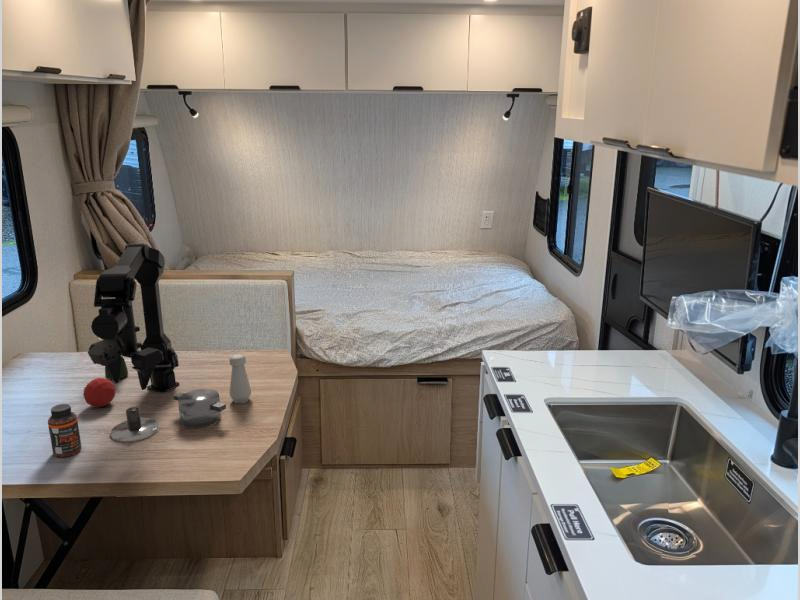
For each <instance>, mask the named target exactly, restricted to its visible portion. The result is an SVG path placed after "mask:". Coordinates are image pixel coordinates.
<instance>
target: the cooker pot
mask: <svg viewBox="0 0 800 600" xmlns="http://www.w3.org/2000/svg"><path fill="white" fill-rule="evenodd" d="M172 398H173V400H174V401H177V404H178V412H179V420H180V424H181V425H182V427H184V428H189V429H201V427H202V428H206V426H207V427H210V426H213V425H215V424H216V423H218V422H219V421H220V420H221V419H220V418H222V412H223V411H224V410H227V404H226V403H223V402H221V401H220V400H221V399H220V394H219V392H218V391H217V390H214V389H209V388H202V389H193V390H190V391H188V392H185V393H184V392H181V391H179V392H177V393H175V394H173V395H172ZM217 421H218V422H217ZM214 423H215V424H214ZM212 424H213V425H212ZM209 425H210V426H209Z"/></svg>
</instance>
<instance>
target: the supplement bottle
mask: <svg viewBox="0 0 800 600" xmlns="http://www.w3.org/2000/svg"><path fill="white" fill-rule="evenodd" d="M71 407H72V406H71V405H70V404H69V403H60V404H57V405H54V406H52V407H51V408H50V414H51V416H50V417H48V419H47V426H48V432H49V433H48V434H49V438H50V443H51V449H52V454H53V455H54V456H56V457H58V458H68V457H71V456H73V454H74V455H76V454H77V453H79V452H80V451H81V449H82V441H81V435H80V428H79V422H78V416H77V414H76V413H75V412H73V411H72V408H71Z"/></svg>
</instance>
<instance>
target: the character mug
mask: <svg viewBox="0 0 800 600" xmlns="http://www.w3.org/2000/svg"><path fill="white" fill-rule="evenodd" d="M97 338H98V339H97V340H98V342H99V341H102V340H104V339H101V338H99V337H97ZM104 374H105V375H104V377H105V379H108V380H113V379H112V377H111V376H110V374H109V372H108V370H107V368H106V367H105V366H104ZM128 375H129V370H128V367H127V363H126V361H125V357H124V356H121V370H120V379H121V378H123V377H126V376H128Z"/></svg>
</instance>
